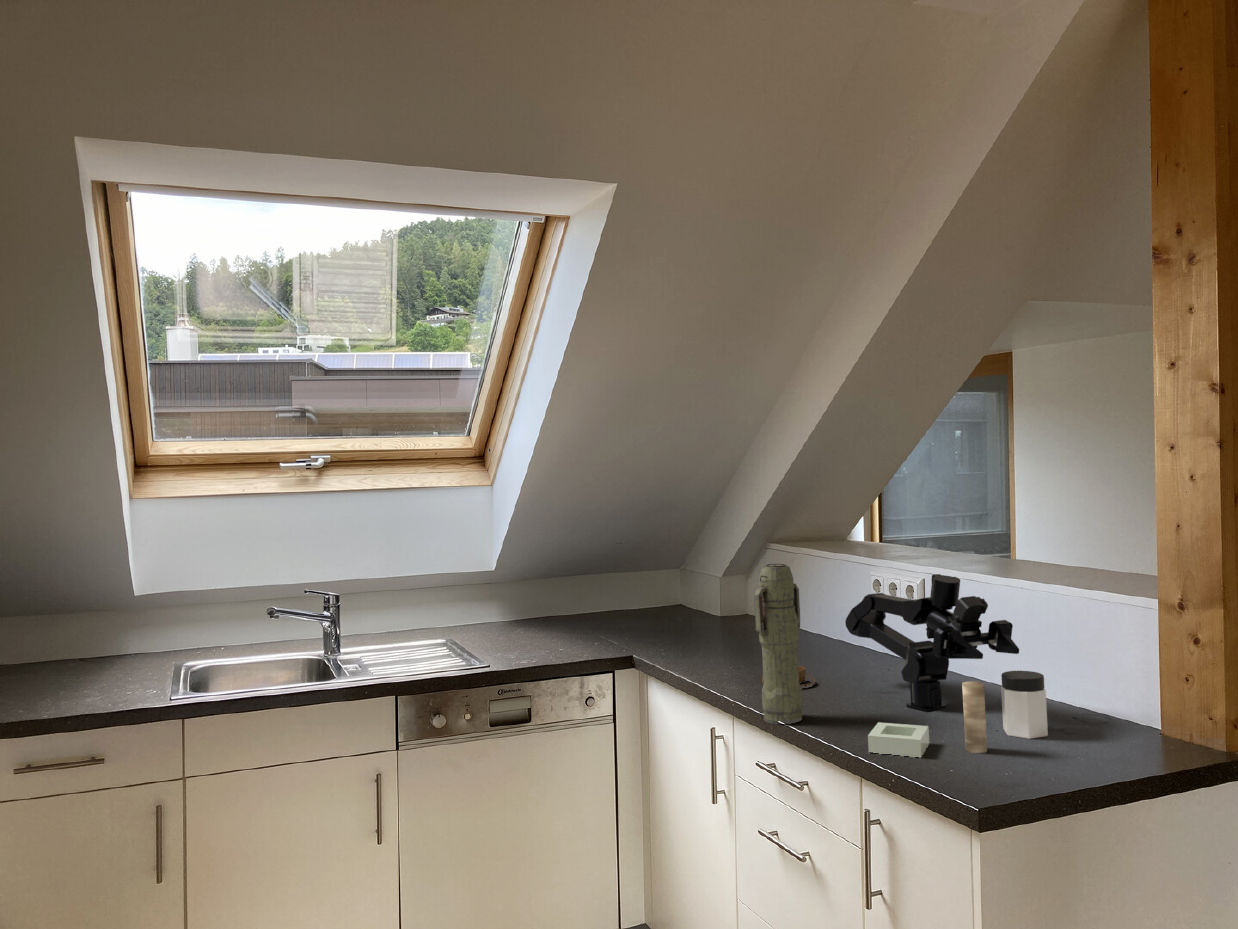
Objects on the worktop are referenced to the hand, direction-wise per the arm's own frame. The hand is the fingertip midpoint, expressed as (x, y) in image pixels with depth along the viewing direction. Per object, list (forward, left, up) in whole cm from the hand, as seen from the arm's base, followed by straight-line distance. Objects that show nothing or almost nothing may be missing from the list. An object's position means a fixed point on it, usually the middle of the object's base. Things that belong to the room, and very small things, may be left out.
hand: (1000, 654), depth 196 cm
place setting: (-62, -9, -17) cm, 65 cm away
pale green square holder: (-6, -23, -16) cm, 29 cm away
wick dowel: (+4, -13, -17) cm, 21 cm away
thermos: (-37, -28, -17) cm, 49 cm away
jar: (+2, +4, -17) cm, 17 cm away
